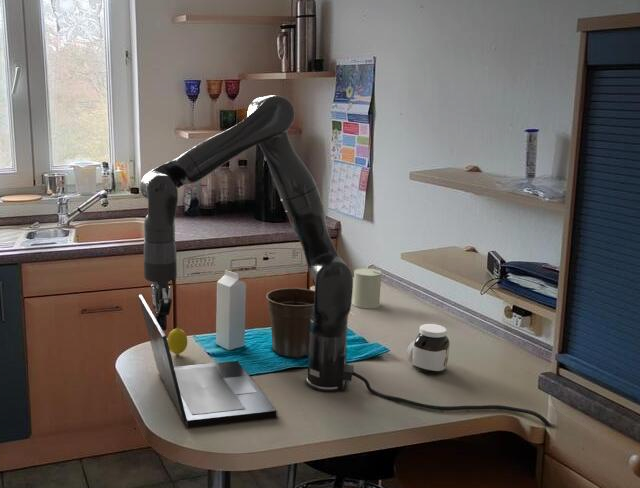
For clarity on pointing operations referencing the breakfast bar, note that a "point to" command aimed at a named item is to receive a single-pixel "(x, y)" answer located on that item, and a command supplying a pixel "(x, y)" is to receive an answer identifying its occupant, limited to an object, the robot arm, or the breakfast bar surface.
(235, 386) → the laptop
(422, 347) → the spread jar
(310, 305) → the plant pot
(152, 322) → the laptop screen
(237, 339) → the milk
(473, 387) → the breakfast bar surface
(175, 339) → the lemon
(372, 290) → the can
